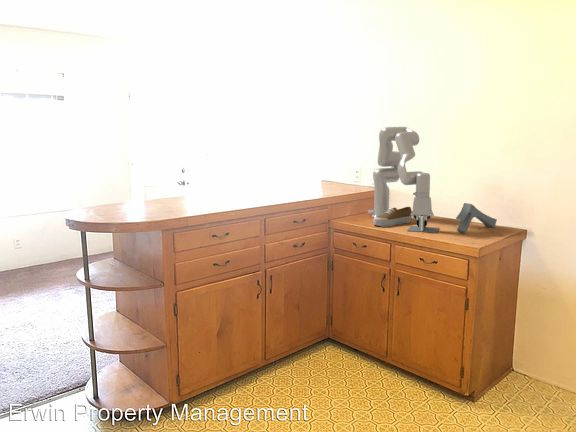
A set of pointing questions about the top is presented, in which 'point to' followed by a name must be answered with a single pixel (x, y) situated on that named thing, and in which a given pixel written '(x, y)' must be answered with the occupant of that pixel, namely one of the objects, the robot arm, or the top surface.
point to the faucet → (468, 214)
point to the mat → (426, 229)
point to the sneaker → (393, 217)
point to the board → (421, 222)
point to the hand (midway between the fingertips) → (421, 226)
